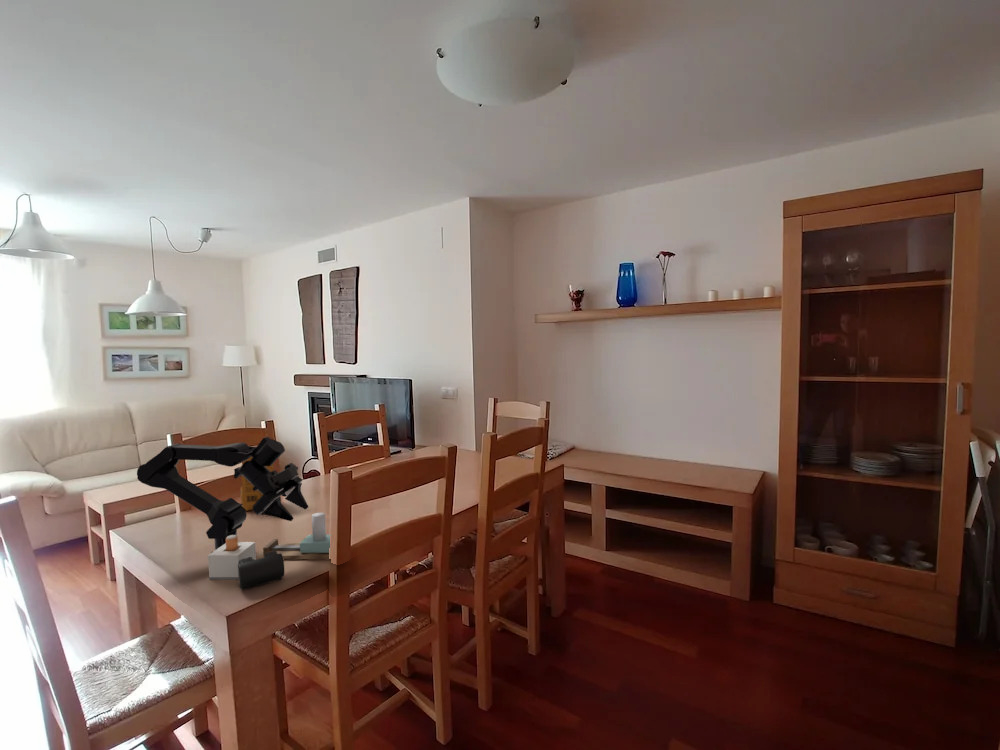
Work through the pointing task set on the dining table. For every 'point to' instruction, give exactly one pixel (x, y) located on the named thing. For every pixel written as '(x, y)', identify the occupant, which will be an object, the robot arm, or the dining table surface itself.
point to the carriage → (316, 536)
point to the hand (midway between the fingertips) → (300, 513)
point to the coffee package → (250, 491)
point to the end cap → (260, 570)
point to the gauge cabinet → (229, 561)
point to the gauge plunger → (231, 543)
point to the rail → (292, 551)
